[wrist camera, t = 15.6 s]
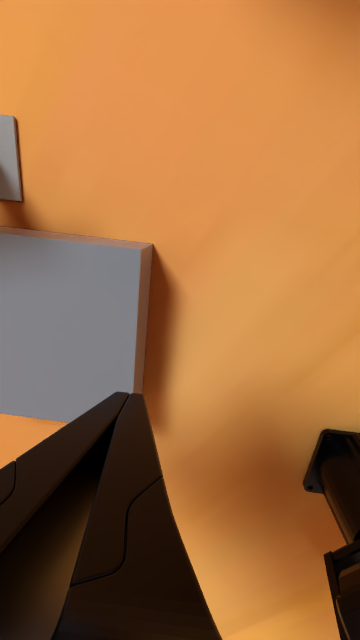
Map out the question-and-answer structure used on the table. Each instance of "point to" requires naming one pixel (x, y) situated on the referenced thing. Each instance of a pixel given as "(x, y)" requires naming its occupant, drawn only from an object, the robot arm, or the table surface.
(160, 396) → the table surface
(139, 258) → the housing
